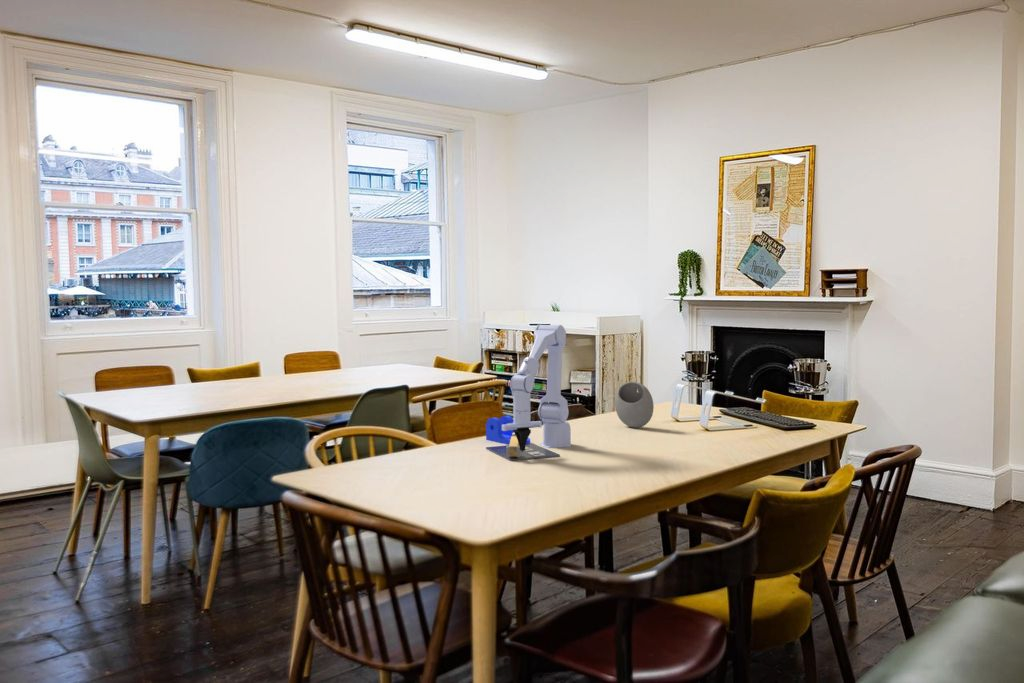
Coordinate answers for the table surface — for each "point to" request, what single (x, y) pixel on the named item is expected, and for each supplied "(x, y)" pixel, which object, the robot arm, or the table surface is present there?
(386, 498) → the table surface
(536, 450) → the panel
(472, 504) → the table surface
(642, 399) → the planter
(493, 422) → the bracket
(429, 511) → the table surface
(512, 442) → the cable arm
